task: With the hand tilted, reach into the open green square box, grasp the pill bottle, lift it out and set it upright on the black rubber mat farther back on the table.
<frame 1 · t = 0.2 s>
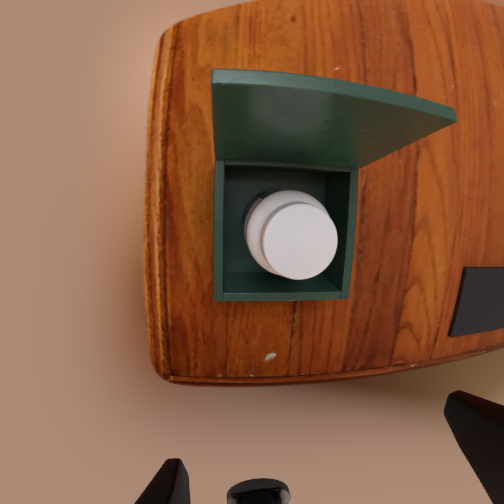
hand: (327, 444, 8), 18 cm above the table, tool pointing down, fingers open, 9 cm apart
pill bottle: (274, 221, 25), resting on green square box
green square box: (273, 221, 25), on the table
warmer lid: (314, 132, 14), point 11 cm above the table, hinge at 100.0°
mat: (497, 298, 30), on the table
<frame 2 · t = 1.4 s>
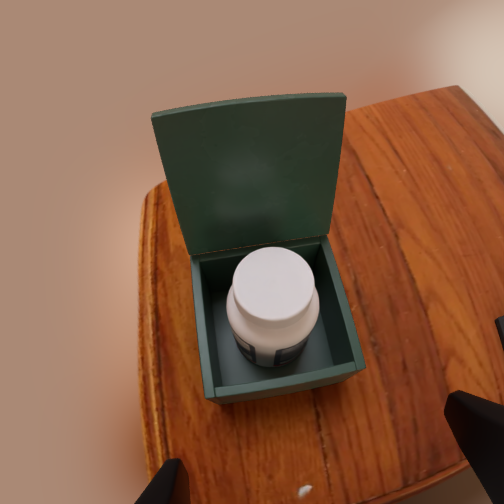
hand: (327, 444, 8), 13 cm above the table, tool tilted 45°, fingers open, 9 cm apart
pill bottle: (270, 334, 23), resting on green square box
green square box: (270, 335, 23), on the table
warmer lid: (256, 181, 17), point 11 cm above the table, hinge at 100.0°
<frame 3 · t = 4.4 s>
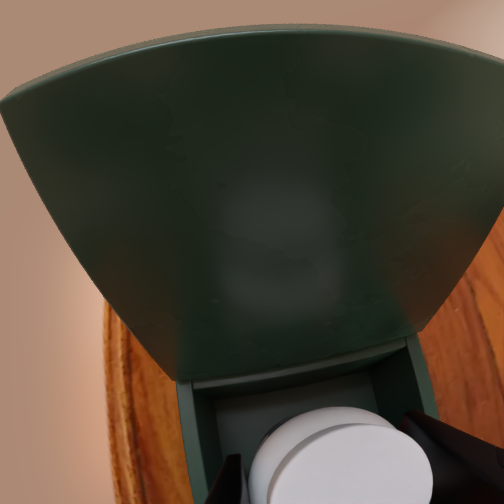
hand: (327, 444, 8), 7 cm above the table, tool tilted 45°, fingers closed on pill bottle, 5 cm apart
pill bottle: (307, 461, 13), resting on green square box, touching gripper
green square box: (306, 460, 13), on the table
warmer lid: (323, 267, 7), point 11 cm above the table, hinge at 100.0°
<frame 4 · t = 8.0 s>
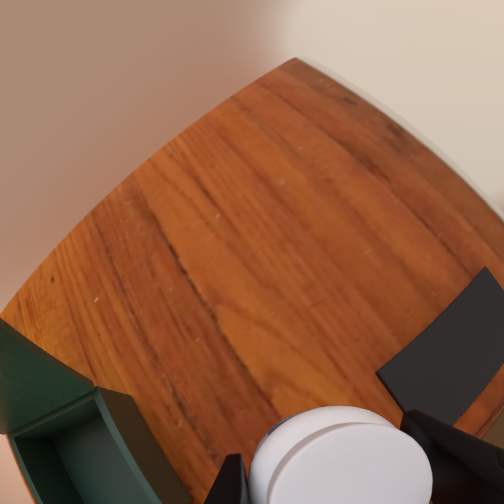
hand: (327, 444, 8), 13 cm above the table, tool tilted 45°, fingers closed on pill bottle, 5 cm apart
pill bottle: (307, 461, 13), point 7 cm above the table, touching gripper
green square box: (112, 469, 18), on the table
mat: (464, 349, 22), on the table
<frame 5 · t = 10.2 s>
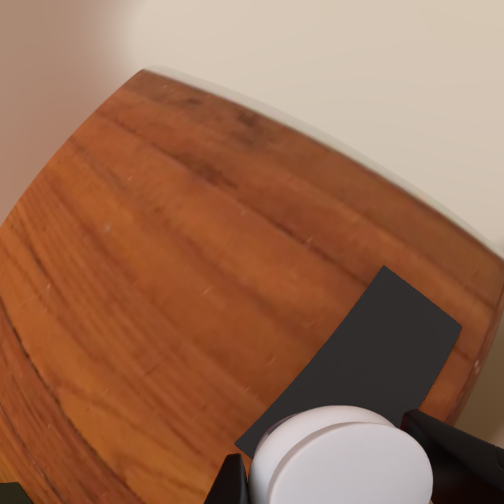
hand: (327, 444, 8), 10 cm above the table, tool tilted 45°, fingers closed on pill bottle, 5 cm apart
pill bottle: (307, 460, 13), point 4 cm above the table, touching gripper
mat: (364, 387, 18), on the table
when the fingers open (7 cm above the table, at t = 11.7 s): pill bottle stays where it is, resting on mat.
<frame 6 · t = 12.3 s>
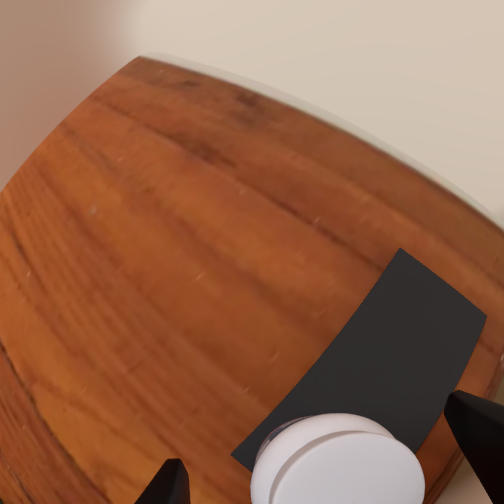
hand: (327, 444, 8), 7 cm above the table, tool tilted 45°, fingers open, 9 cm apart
pill bottle: (307, 463, 13), resting on mat
mat: (383, 386, 15), on the table
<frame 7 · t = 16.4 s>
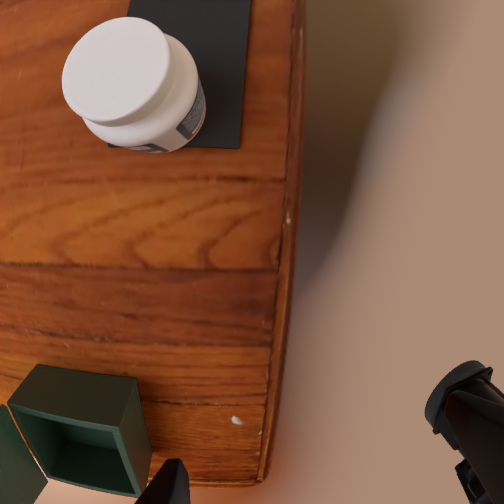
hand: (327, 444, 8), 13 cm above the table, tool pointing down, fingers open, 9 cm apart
pill bottle: (162, 112, 17), resting on mat
green square box: (94, 413, 22), on the table
mat: (184, 30, 16), on the table
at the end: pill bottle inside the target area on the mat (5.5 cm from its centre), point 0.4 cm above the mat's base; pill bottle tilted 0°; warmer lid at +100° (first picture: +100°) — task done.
